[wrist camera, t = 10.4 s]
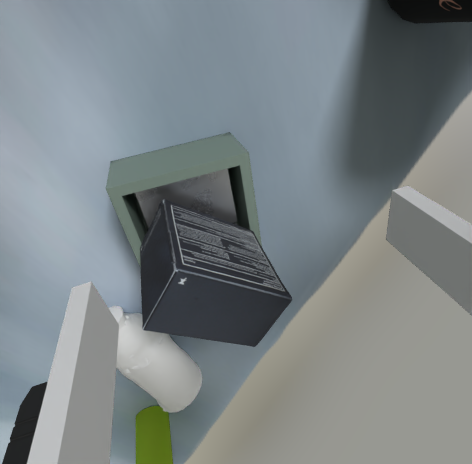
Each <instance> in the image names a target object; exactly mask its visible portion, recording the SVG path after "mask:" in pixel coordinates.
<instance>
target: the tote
mask: <svg viewBox="0 0 472 464" xmlns="http://www.w3.org/2000/svg"><path fill="white" fill-rule="evenodd" d="M227 168H228V174H229V179H230V185H231V190H232V195H233V201H234V206H235V212H236V217H237V222H236V223H237V225H238V226H241V227H244V228H246V229H249V230H252V231H254V233H255V236H256V237H257V239H258V241H259V243H260V245H261V247H262V244H261V237H260V230H259V223H258V216H257V208H256V201H255V194H254V187H253V180H252V173H251V165H250V158H249V152H248V151H247V150H246V149H245V148H244V147H243V146H242V145H241V144H240V143H239V142H238V141H237V139H236V138H235V137H234V136H233V135H232V134H231V133H230V132H229V133H225V134H221V135H217V136H213V137H209V138H205V139H201V140H197V141H192V142H188V143H184V144H180V145H176V146H172V147H168V148H164V149H160V150H156V151H152V152H148V153H144V154H139V155H135V156H131V157H127V158H123V159H119V160H115V161H111V163H110V169H109V174H108V180H107V186H106V190H107V193H108V195H109V197H110V199H111V202H112V204H113V206H114V209H115V211H116V213H117V215H118V218H119V220H120V222H121V224H122V227H123V229H124V231H125V234H126V236H127V238H128V240H129V243H130V245H131V247H132V249H133V252H134V254H135V256H136V259H137V261H138V263H139V265H140V268H141V263H140V247H141V245H142V241H143V238H144V236H145V235H146V234H147V231H148V229H149V228H148V225H147V223H146V220H145V218H144V215H143V212H142V210H141V207H140V205H139V202H138V199H137V197H136V194H135V192H139V191H143V190H147V189H151V188H155V187H158V186H162V185H166V184H170V183H174V182H178V181H181V180H185V179H189V178H193V177H197V176H201V175H204V174H208V173H212V172H216V171H220V170H224V169H227Z"/></svg>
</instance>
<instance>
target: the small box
mask: <svg viewBox="0 0 472 464" xmlns="http://www.w3.org/2000/svg"><path fill="white" fill-rule="evenodd" d="M140 263H141V293H142V295H141V296H142V322H143V324H142V329H143V330H145V331H152V332H159V333H166V334H173V335H180V336H187V337H194V338H200V339H207V340H214V341H221V342H227V343H234V344H241V345H247V346H253V347H255V346H256V345H257V344H258V343H259V342H260V341H261V339H262V338H263V337H264V336H265V334H266V333H267V332H268V331H269V329H270V328H271V327H272V325H273V324H274V323H275V321H276V320H277V319H278V318H279V316H280V315H281V314H282V312H283V311H284V310H285V308H286V307H287V306H288V305H289V303H290V302H291V301H292V297H291V295H290V294H289V292H288V291H287V290H286V288H285V286H284V285H283V284H282V282H281V280H280V279H279V276H278V275H277V273H276V272H275V270H274V268H273V266H272V264H271V263H270V261H269V259H268V257H267V256H266V254H265V252H264V250H263V248H262V247H261V245H260V243H259V241H258V239H257V237H256V236H255V233H254V231H252V230H249V229H246V228H244V227H241V226H238V225H235V224H232V223H230V222H228V221H224V220H222V219H219V218H216V217H213V216H211V215H208V214H205V213H202V212H200V211H197V210H194V209H191V208H189V207H186V206H183V205H180V204H177V203H175V202H172V201H169V200H166V199H164V200H162V201H161V203H160V204H159V207H158V211H157V212H156V215H155V217H154V219H153V221H152V223H151V225H150V227H149V229H148V231H147V234H146V235H145V236H144V238H143V241H142V245H141V247H140Z"/></svg>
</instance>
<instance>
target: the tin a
mask: <svg viewBox="0 0 472 464" xmlns="http://www.w3.org/2000/svg"><path fill="white" fill-rule="evenodd" d="M135 194H136V197H137V199H138V202H139V205H140V207H141V210H142V212H143V215H144V218H145V220H146V223H147V225H148V228H149V227H150V225H151V223H152V221H153V219H154V217H155V215H156V212H157V211H158V207H159V204H160V203H161V201H162V200H164V199H166V200H169V201H172V202H175V203H177V204H180V205H183V206H186V207H189V208H191V209H194V210H197V211H200V212H202V213H205V214H208V215H211V216H213V217H216V218H219V219H222V220H224V221H228V222H230V223H233V222H237V217H236V212H235V206H234V201H233V195H232V190H231V185H230V179H229V174H228V168H227V169H224V170H220V171H216V172H212V173H208V174H204V175H201V176H197V177H193V178H189V179H185V180H181V181H178V182H174V183H170V184H166V185H162V186H158V187H155V188H151V189H147V190H143V191H139V192H135Z"/></svg>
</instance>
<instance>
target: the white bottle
mask: <svg viewBox="0 0 472 464" xmlns="http://www.w3.org/2000/svg"><path fill="white" fill-rule="evenodd" d="M109 310H110V311H111V313H112V315H113V316H114V318H115V319H116V321H117V322H118V324H119V334H118V349H117V363H116V368H117V369H118V370H119V371H120V372H121V373H122V374H123V375H124V376H125V377H127V378H128V379H130V380H132V381H134V383H136V384H137V385H138V386H140V387H141V388H142V389H144V390H145V391H147V392H148V393H149V394H150V395H151V396H152V397H154V398H155V399H156V400H157V403H158V404H159V405H160V407H161V408H163V411H165V412H169V413H173V412H178V411H180V410H184V408H185V407H186V406H188V405H190V404H191V403H192V401H193V400H194V399H195V398H196V396H197V394H198V393H199V390H200V388H201V385H202V374H201V370H200V368H199V366H198V364H197V363H196V362H194V361H193V360H192V359H191V357H190V356H189V355H188V354H187V353H186V352H185V351H184V350H183V349H182V348H179V347H178V345H177V344H176V343H175V342H174V341H173V340H172V339H171V338H170V335H169V334H166V333H159V332H152V331H145V330H143V329H142V324H143V322H142V314H141V313H132V314H130V313H124V312H123V310H122V308H121V307H119V306H116V307H115V306H113V307H111V308H109Z"/></svg>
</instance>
